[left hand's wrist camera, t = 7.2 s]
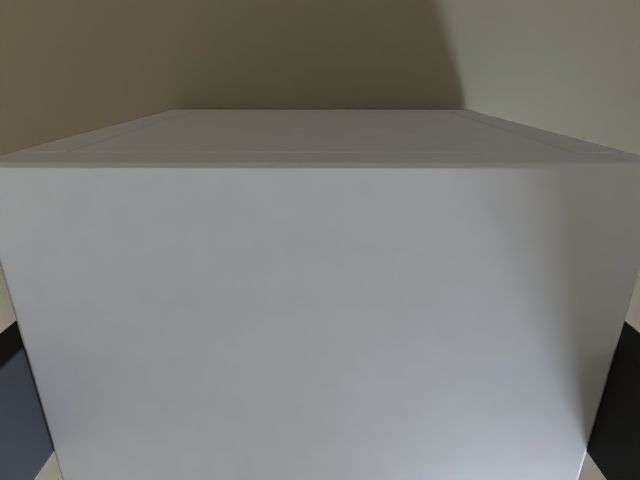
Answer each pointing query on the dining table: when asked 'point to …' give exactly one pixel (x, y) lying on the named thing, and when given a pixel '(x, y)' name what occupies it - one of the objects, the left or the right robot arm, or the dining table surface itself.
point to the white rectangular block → (320, 294)
